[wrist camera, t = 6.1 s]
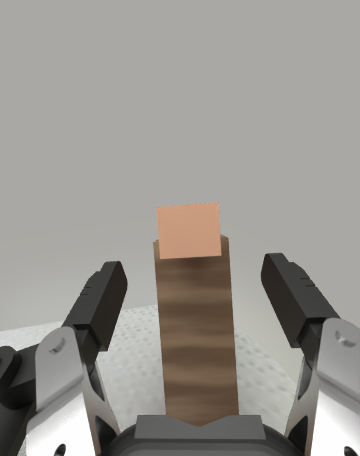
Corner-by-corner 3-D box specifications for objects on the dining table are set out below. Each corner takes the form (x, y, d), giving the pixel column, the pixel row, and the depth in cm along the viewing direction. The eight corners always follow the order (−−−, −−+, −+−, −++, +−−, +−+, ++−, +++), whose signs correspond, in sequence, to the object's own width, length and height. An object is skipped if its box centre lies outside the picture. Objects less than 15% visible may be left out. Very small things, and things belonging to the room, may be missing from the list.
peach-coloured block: (221, 255, 10) (218, 202, 10) (160, 259, 10) (156, 207, 10) (199, 230, 34) (198, 214, 34) (181, 232, 34) (179, 216, 34)
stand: (245, 521, 20) (228, 237, 19) (174, 519, 21) (153, 242, 20) (220, 389, 36) (210, 229, 35) (181, 389, 37) (169, 232, 35)
